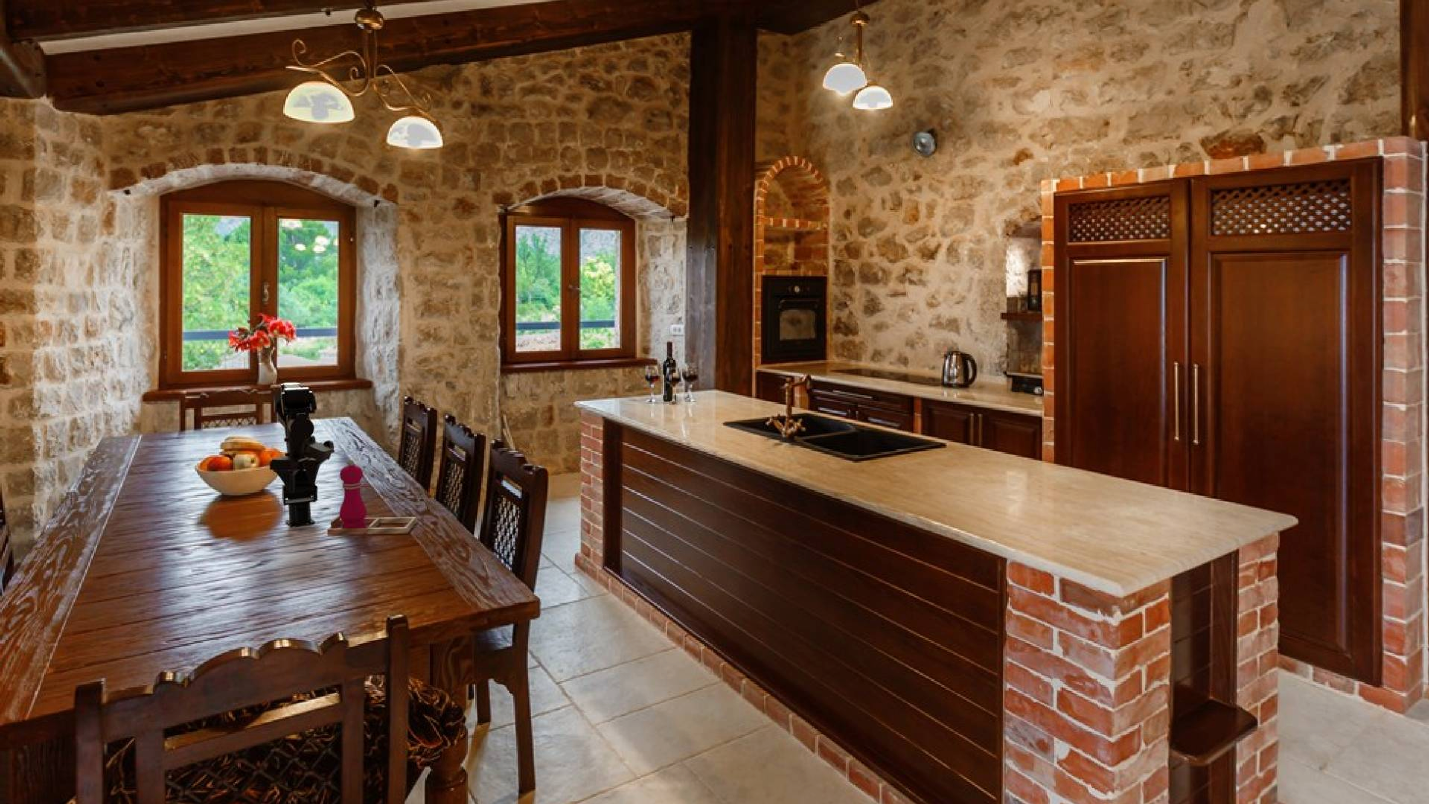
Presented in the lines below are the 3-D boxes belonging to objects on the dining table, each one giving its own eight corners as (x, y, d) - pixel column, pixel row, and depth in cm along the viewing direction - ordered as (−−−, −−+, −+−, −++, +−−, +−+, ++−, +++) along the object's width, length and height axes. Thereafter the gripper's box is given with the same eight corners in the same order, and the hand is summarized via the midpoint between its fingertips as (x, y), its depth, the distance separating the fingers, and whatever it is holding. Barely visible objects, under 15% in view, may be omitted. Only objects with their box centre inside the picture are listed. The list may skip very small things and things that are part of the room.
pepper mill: (357, 533, 229) (353, 463, 226) (334, 531, 231) (331, 462, 228) (372, 525, 236) (369, 458, 233) (350, 523, 238) (347, 456, 235)
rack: (327, 534, 227) (326, 524, 227) (341, 523, 238) (340, 513, 238) (406, 533, 230) (406, 522, 229) (416, 522, 241) (416, 512, 240)
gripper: (305, 440, 214) (309, 498, 216) (345, 428, 232) (348, 482, 234) (266, 439, 215) (270, 496, 217) (309, 427, 233) (312, 480, 235)
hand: (302, 488), depth 226 cm, fingers open, 9 cm apart
